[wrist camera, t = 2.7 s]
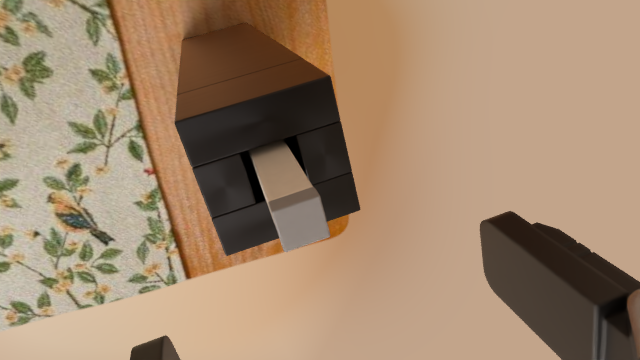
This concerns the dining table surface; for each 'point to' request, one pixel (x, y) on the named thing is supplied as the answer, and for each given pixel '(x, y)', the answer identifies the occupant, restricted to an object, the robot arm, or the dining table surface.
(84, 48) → the dining table surface
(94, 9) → the dining table surface
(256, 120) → the holder
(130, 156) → the dining table surface
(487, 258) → the robot arm
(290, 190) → the grey square peg
